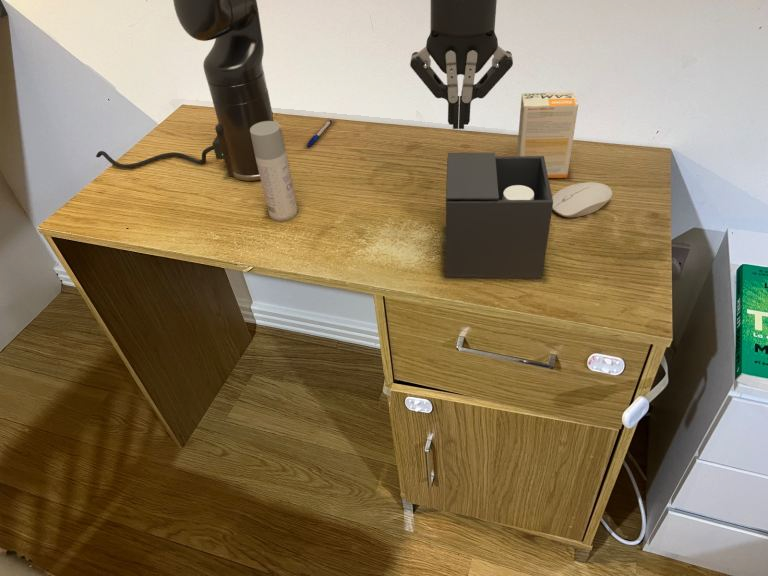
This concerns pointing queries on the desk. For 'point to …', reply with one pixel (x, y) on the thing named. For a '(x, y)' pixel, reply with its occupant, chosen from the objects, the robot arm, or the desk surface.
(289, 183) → the container
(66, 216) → the desk surface
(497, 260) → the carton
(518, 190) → the supplement bottle
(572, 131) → the supplement box
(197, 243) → the desk surface
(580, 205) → the computer mouse
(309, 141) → the ballpoint pen
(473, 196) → the flap
